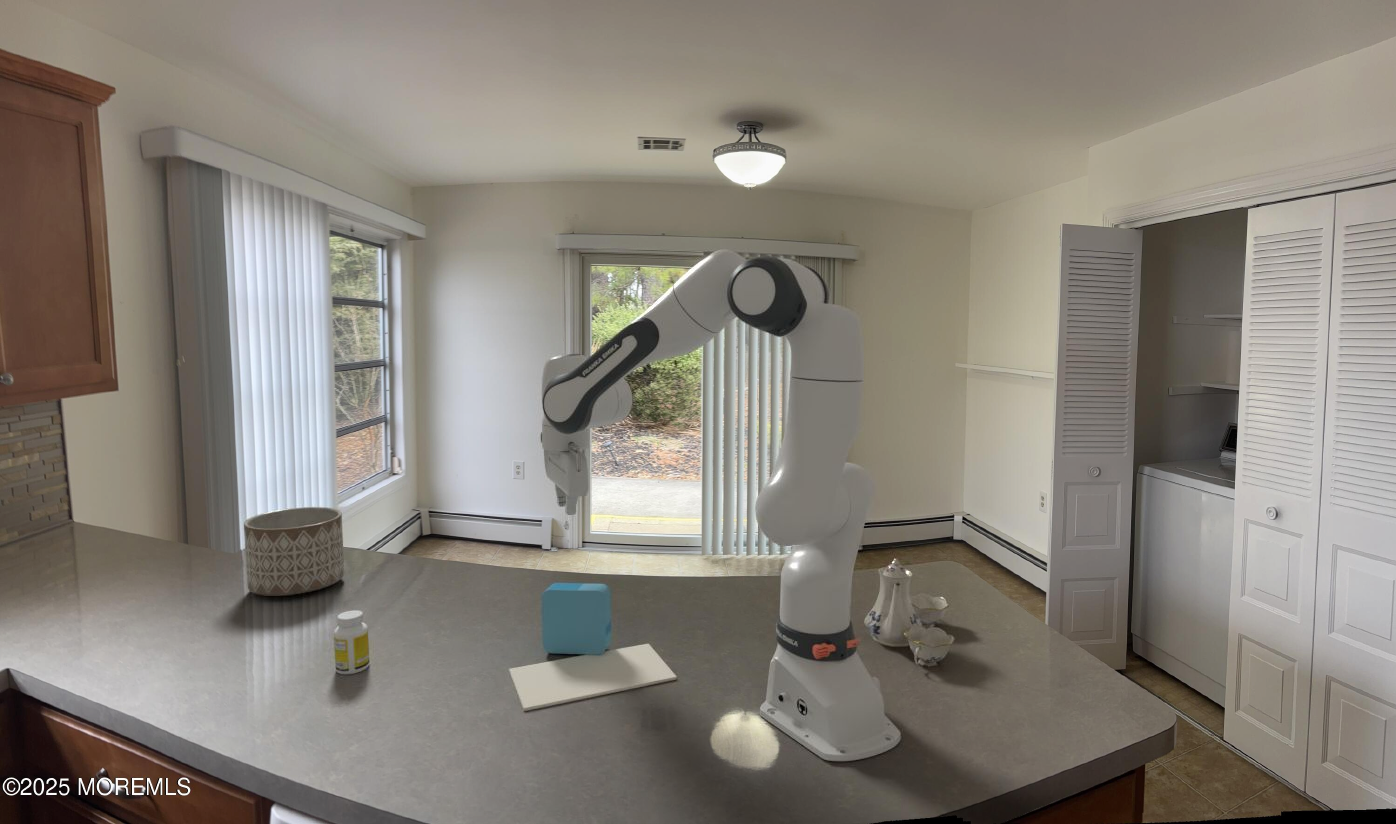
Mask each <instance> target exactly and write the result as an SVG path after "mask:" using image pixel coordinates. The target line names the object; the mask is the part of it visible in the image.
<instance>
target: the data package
mask: <svg viewBox="0 0 1396 824" xmlns="http://www.w3.org/2000/svg"><path fill="white" fill-rule="evenodd" d="M611 597H612V596H611V589H610V587H609V586H608V585H606V583H580V582H577V583H575V582H554V583H552V584H550V586H548V587H547V588H546V589H545V590H544V591H543V592H542V594H541V627H542V628H541V630H542V631H541V632H542V647H543V650H544V651H545V652H546V653H549V654H557V655H558V654H560V655H561V654H563V655H600V654H602V653H604V651H607V648H608V646H610V643H611V641H612V603H611V602H612V601H611V599H612V598H611Z"/></svg>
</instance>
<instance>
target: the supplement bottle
mask: <svg viewBox="0 0 1396 824" xmlns="http://www.w3.org/2000/svg"><path fill="white" fill-rule="evenodd" d="M336 619H337V627H336V628H335V629H334V630H333V646H334V663H335V671H336V672H337V673H338V674H339V675H353V674H357V673H360V672H363V671H364V670H366V669H367V668H368V667H369V666H370V646H369V645H370V644H369V642H370V641H369V628H368V625H367V624H366V623H365V622H363V621H364V614H363V611H361V610H356V609H355V610H347V611H343V612H342V613H339V614H338V615H337V618H336Z"/></svg>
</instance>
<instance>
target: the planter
mask: <svg viewBox="0 0 1396 824" xmlns="http://www.w3.org/2000/svg"><path fill="white" fill-rule="evenodd" d="M342 518H343V515H342V511H340V510H339V509H336V508H332V507H322V506H309V507H308V506H307V507H293V508H285V509H284V508H283V509H278V510H272V511H267V512H264V513H260V514H256V515H254V516H251V517H250V518H247V519H246V520H244V522H243V531H244V532H243V533H244V548H245V549H244V551H245V563H246V564H245V566H246V567H245V568H246V582H247V588H248V590H249V591H250V592H251V593H253V594H255V595H259V596H266V597H267V596H269V597H278V596H279V597H281V596H295V595H294V594H298V595H302V594H301V593H303V594H307V593H310V592H315V591H318V590H321V589H324V588H327V587H330V586H331V585H335V584H336V583H337V582H339V581H340V580H342V578H343V577H344V575H345V557H344V537H343V536H344V535H343V519H342ZM306 592H307V593H306Z"/></svg>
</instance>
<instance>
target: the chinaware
mask: <svg viewBox="0 0 1396 824" xmlns="http://www.w3.org/2000/svg"><path fill="white" fill-rule="evenodd" d="M900 563H901V562H899V559H897V558H894V559H893V561H891V563H890V564H888V565H887V566H886V567H881V568H879V569H878V571H877V572H878V573H879V578H880V580H879V581H880V584H879V585H880V586H879V592H878V596H877V599H876V601H875V604H873V607H872V608H871V610H870V611H869V612H868V614H867V615H866V617H865V618H864V622H863V623H864V625H865V627H866V629H867V630H868V631H869V632H870V638H871V639H872V640H873V641H874V642H876V643H877V644H881V645H882V646H887V647H890V648H891V647H892V648H893V647H894V648H906V647H909V648H910V650H911V652H912V653H913V657H914V663H915V664H916V665H921V666H927V667H928V668H930V667H934V666H938V664H937V663H938V662H939V661H941V660H943V659H944V658H945V657H946V655H947V654H948V652H949V649H950V646H952V644H953V643H954V642H955V640H956V638H955V636H953V635H952V634H947V633H948V632H946V631H945V630H944V629H942V628H941V627H939V626H938V627H936V625H935V624H937V623H939V622H940V621H941V620H942V618H943V617H944V615H945V611H946V610H948V609H949V608H950V604H949V603H948V600H947V599H946V598H945V597H943V596H935V597H934V596H933V595H931V594H928V593H925V592H919V593H917V594H915V595H912V594H910V582H911V578H912V577H913V575H914V574H913V572H912V571H911V570H909V569H907V568H904V566H903V565H901V564H900Z"/></svg>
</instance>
